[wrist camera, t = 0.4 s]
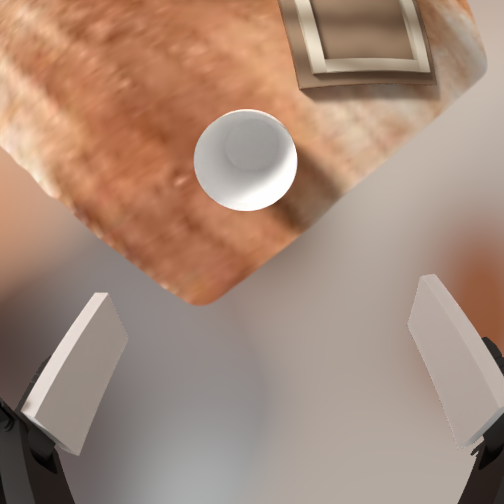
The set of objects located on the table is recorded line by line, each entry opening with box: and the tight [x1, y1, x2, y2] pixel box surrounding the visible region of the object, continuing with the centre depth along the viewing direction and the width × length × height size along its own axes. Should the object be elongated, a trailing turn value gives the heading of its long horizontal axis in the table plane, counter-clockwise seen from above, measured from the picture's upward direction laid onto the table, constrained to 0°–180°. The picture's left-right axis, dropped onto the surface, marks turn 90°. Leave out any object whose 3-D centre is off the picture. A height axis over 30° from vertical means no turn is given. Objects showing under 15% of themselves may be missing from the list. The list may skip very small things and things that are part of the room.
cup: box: [194, 109, 297, 211], centre depth 28 cm, size 9×9×12 cm
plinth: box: [278, 0, 437, 90], centre depth 23 cm, size 18×18×4 cm
